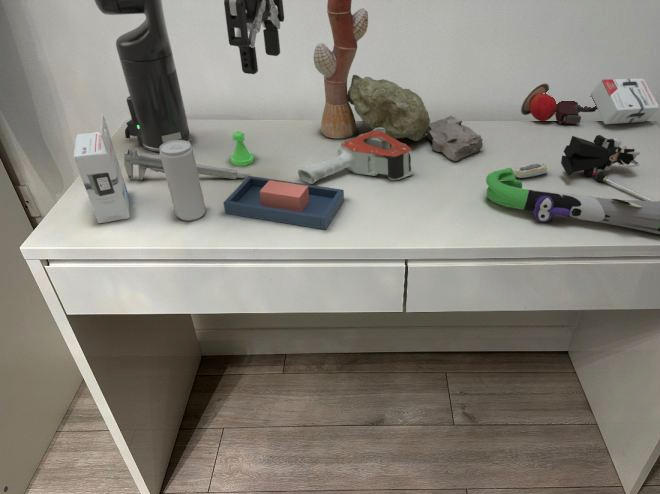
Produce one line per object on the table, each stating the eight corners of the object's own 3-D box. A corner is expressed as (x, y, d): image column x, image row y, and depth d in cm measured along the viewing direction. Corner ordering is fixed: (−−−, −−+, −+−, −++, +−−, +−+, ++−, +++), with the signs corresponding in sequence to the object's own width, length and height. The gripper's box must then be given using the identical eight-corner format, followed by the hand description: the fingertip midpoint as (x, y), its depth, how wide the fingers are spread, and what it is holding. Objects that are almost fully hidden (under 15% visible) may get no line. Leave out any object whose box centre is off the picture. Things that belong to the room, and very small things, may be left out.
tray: (225, 213, 91) (223, 202, 90) (250, 186, 98) (248, 175, 97) (325, 229, 88) (325, 218, 87) (344, 200, 95) (343, 189, 94)
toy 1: (669, 243, 87) (479, 217, 92) (661, 207, 95) (486, 185, 100) (683, 211, 83) (483, 185, 88) (673, 175, 91) (490, 154, 96)
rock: (404, 66, 121) (339, 83, 120) (423, 52, 103) (346, 71, 102) (420, 137, 126) (356, 153, 124) (441, 135, 107) (367, 154, 106)
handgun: (664, 129, 123) (638, 103, 134) (669, 117, 121) (643, 91, 132) (557, 126, 121) (540, 99, 133) (560, 113, 120) (543, 87, 131)
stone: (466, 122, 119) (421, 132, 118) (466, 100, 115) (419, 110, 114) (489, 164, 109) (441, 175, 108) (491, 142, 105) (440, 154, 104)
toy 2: (627, 177, 85) (704, 175, 89) (562, 129, 100) (631, 129, 104) (610, 220, 90) (684, 216, 94) (550, 168, 105) (617, 167, 109)
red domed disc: (550, 91, 126) (570, 108, 123) (524, 118, 128) (543, 135, 125) (542, 75, 119) (563, 93, 116) (515, 104, 121) (535, 122, 118)
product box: (98, 198, 94) (68, 115, 85) (129, 194, 96) (103, 111, 86) (97, 224, 88) (65, 137, 79) (130, 219, 89) (102, 132, 80)
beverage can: (179, 207, 93) (162, 139, 85) (208, 206, 93) (194, 139, 85) (173, 222, 89) (155, 153, 81) (203, 221, 89) (188, 152, 82)
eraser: (300, 213, 91) (299, 197, 89) (261, 207, 92) (259, 191, 90) (309, 201, 94) (308, 185, 92) (271, 195, 95) (269, 180, 93)
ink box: (603, 78, 119) (644, 77, 123) (589, 94, 123) (630, 92, 127) (618, 109, 116) (661, 108, 120) (604, 125, 120) (645, 122, 124)
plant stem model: (317, 138, 114) (307, -26, 95) (319, 124, 119) (309, -34, 100) (368, 138, 114) (368, -26, 95) (367, 124, 120) (367, -33, 101)
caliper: (129, 181, 99) (119, 148, 95) (130, 178, 100) (121, 146, 96) (244, 179, 100) (238, 147, 96) (244, 176, 101) (239, 144, 97)
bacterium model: (504, 179, 98) (488, 169, 102) (503, 188, 99) (487, 178, 103) (557, 167, 102) (540, 158, 105) (556, 176, 103) (539, 167, 106)
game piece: (258, 158, 107) (254, 129, 103) (244, 167, 104) (239, 137, 100) (241, 153, 108) (236, 124, 104) (226, 162, 105) (221, 132, 102)
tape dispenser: (296, 192, 100) (405, 198, 96) (291, 166, 96) (404, 171, 93) (323, 146, 113) (420, 150, 109) (320, 122, 109) (419, 125, 106)
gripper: (251, -49, 68) (266, 82, 79) (293, -67, 78) (301, 51, 89) (196, -53, 69) (218, 77, 80) (244, -70, 80) (258, 46, 90)
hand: (262, 63), depth 84 cm, fingers open, 8 cm apart
